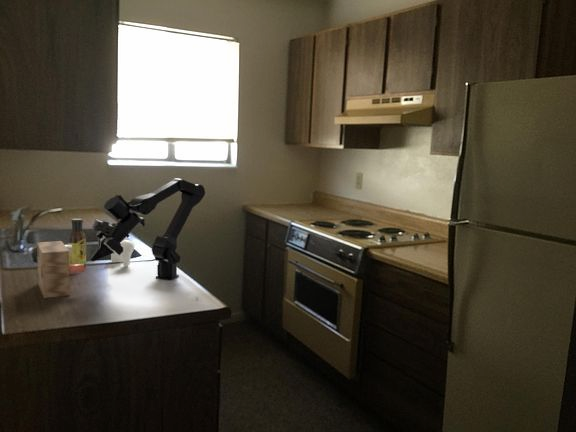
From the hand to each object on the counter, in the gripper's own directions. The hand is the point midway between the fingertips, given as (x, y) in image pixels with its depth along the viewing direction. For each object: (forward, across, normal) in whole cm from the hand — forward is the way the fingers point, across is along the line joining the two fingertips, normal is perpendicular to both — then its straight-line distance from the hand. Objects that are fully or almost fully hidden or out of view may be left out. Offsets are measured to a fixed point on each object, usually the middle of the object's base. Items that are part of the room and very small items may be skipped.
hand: (91, 260), depth 182 cm
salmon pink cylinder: (+7, 0, -1) cm, 7 cm away
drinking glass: (-5, -40, +20) cm, 45 cm away
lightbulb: (-6, -29, +21) cm, 36 cm away
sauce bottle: (+7, -32, +8) cm, 34 cm away
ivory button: (+5, -12, -6) cm, 15 cm away
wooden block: (+16, -6, -1) cm, 17 cm away
